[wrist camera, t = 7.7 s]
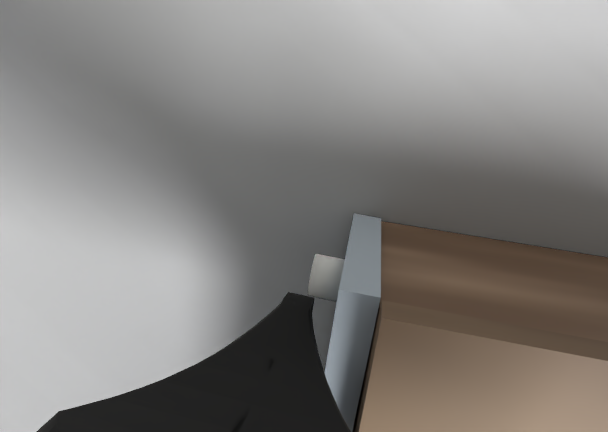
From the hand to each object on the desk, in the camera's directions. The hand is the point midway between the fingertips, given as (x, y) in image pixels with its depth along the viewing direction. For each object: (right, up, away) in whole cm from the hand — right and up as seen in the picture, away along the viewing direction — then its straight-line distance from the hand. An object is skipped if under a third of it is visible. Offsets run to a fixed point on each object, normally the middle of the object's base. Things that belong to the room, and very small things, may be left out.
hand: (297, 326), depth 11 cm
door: (+1, -4, +3) cm, 5 cm away
